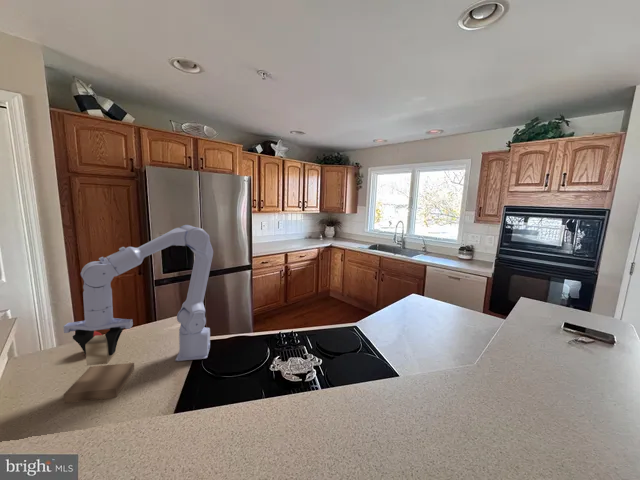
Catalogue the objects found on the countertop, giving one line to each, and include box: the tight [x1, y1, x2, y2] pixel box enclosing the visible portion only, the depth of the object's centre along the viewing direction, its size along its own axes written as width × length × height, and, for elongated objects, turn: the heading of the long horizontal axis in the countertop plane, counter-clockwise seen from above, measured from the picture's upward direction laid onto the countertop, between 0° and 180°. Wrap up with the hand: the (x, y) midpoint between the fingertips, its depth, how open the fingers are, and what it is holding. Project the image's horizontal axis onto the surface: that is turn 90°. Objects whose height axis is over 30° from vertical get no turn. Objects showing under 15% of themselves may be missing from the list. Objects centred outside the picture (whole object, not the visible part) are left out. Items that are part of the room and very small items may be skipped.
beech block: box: [85, 334, 116, 367], centre depth 69 cm, size 4×4×6 cm
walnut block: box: [63, 362, 135, 404], centre depth 70 cm, size 11×11×3 cm
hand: (101, 354), depth 69 cm, fingers closed on beech block, 4 cm apart
